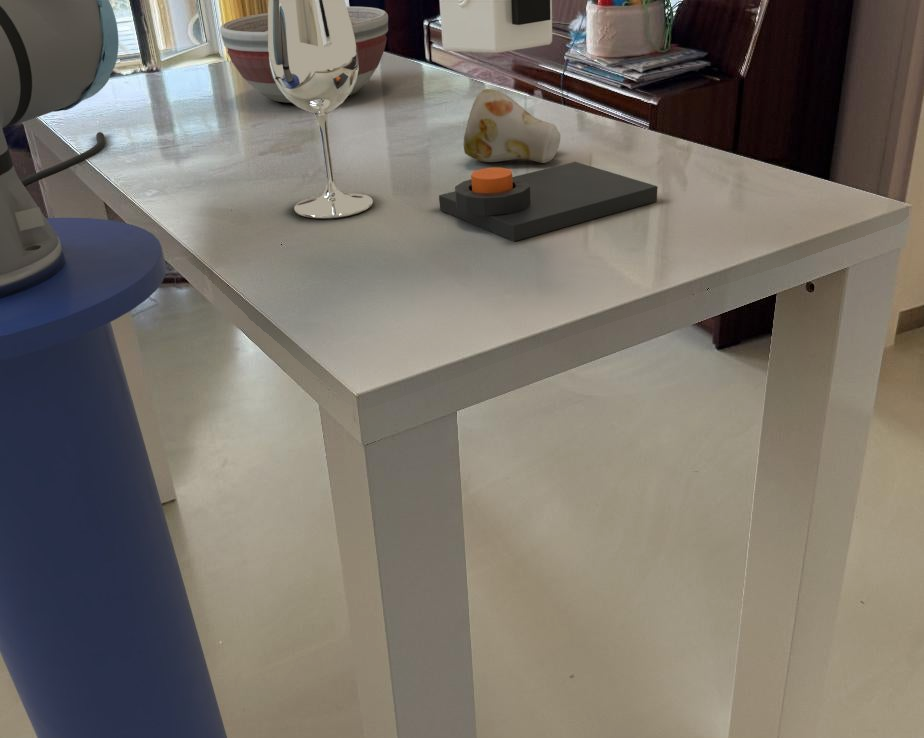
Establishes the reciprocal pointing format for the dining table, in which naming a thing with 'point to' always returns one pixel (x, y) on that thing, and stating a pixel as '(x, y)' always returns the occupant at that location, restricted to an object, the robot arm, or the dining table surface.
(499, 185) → the button
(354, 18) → the bowl
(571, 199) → the scale
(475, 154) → the fruit sandwich
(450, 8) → the jar
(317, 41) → the wineglass
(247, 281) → the dining table surface
